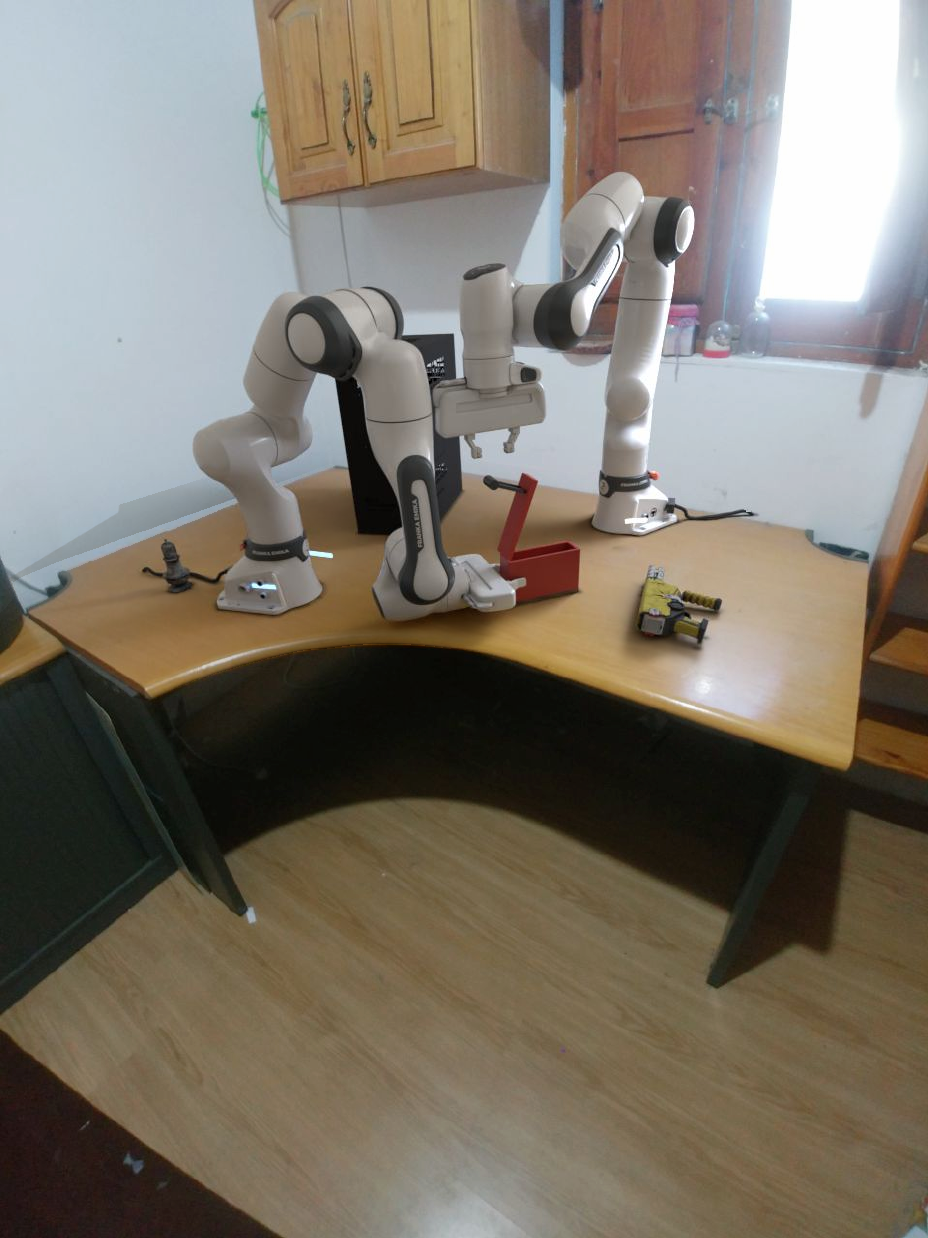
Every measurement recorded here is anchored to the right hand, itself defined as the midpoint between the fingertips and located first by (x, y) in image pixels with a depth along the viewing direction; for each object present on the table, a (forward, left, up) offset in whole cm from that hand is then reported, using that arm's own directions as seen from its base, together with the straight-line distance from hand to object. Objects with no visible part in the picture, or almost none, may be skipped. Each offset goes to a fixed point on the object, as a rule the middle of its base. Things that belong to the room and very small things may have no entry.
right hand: (493, 455), depth 110 cm
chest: (-10, +1, -31) cm, 32 cm away
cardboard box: (-5, -62, -31) cm, 70 cm away
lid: (-5, +1, -13) cm, 14 cm away
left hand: (-5, 0, -25) cm, 26 cm away
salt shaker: (+60, -43, -31) cm, 80 cm away
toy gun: (-29, +22, -31) cm, 48 cm away
